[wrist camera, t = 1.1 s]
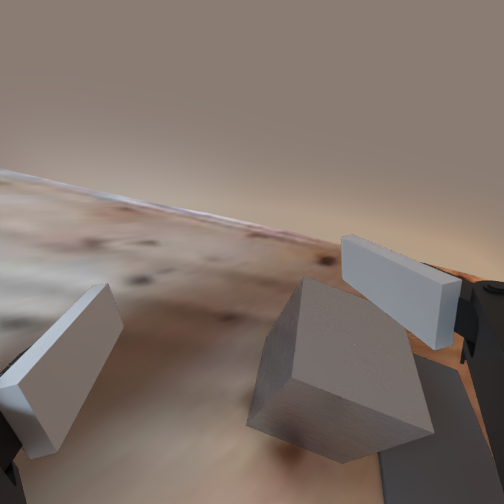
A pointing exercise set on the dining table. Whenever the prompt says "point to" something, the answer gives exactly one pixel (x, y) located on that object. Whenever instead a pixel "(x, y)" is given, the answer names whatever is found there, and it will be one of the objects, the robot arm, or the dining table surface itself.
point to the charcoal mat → (442, 450)
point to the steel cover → (338, 377)
